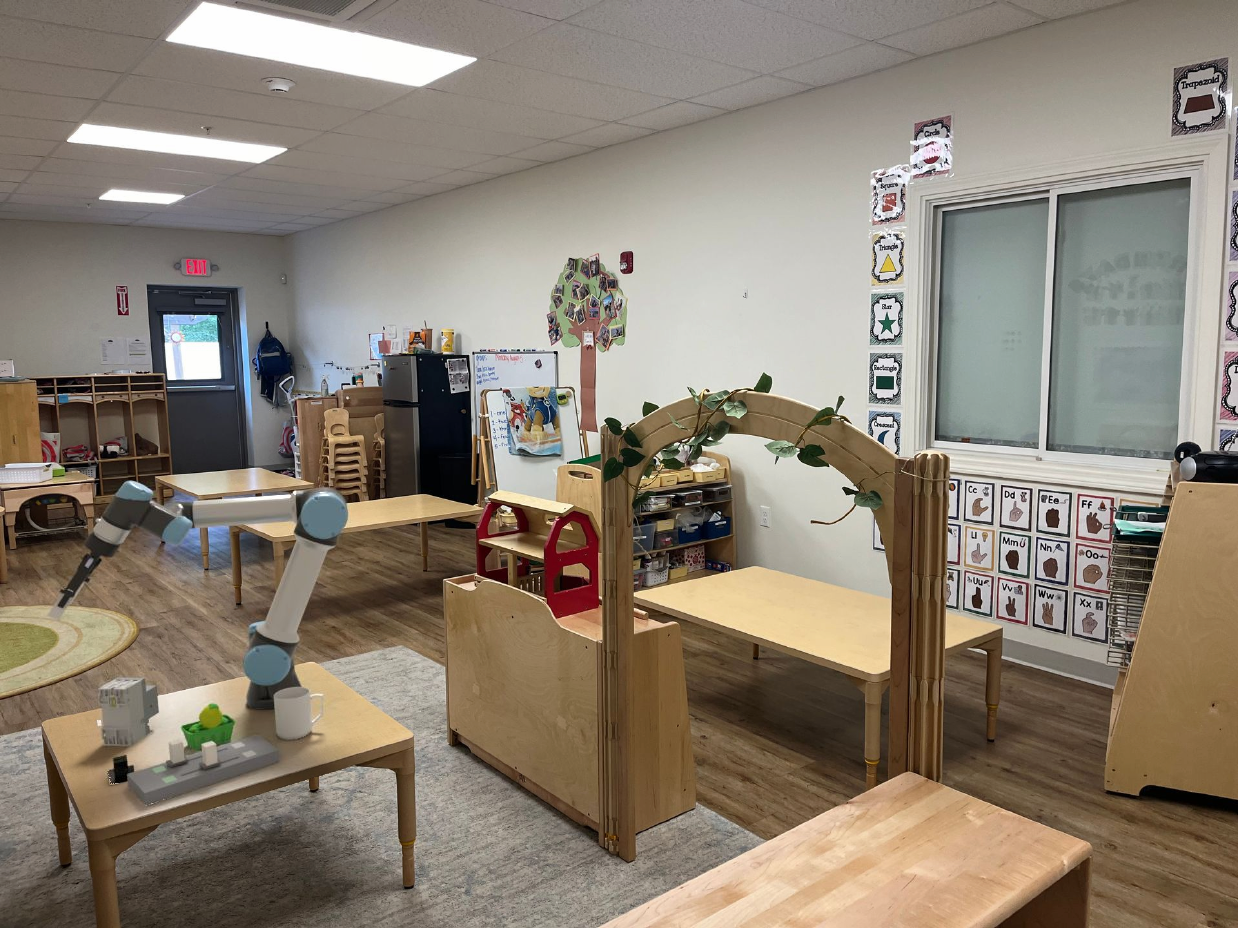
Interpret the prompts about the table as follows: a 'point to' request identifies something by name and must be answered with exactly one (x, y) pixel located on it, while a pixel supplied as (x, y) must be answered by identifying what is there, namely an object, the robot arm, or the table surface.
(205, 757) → the block
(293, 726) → the mug
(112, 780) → the black stepped block
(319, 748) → the table surface
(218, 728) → the fruit basket
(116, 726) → the circuit breaker
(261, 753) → the gray slotted slider panel
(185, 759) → the breaker handle
